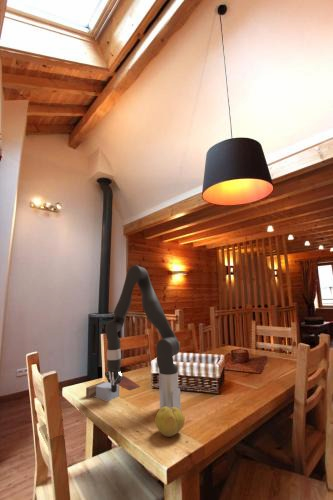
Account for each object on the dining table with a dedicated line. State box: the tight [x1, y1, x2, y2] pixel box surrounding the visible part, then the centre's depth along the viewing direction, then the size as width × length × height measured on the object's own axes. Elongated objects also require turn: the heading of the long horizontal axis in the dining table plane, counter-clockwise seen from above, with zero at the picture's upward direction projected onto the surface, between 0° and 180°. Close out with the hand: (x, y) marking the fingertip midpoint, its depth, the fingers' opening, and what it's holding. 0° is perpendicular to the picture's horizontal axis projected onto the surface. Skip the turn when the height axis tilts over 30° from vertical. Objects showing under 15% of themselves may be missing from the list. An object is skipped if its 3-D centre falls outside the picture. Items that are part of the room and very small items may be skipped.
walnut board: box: [85, 381, 106, 400], centre depth 145 cm, size 3×12×5 cm, turn 143°
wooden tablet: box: [117, 375, 141, 391], centre depth 162 cm, size 27×10×2 cm, turn 36°
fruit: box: [154, 406, 185, 438], centre depth 103 cm, size 11×12×10 cm
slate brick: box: [95, 381, 120, 402], centre depth 142 cm, size 10×8×6 cm
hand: (113, 391), depth 137 cm, fingers closed
